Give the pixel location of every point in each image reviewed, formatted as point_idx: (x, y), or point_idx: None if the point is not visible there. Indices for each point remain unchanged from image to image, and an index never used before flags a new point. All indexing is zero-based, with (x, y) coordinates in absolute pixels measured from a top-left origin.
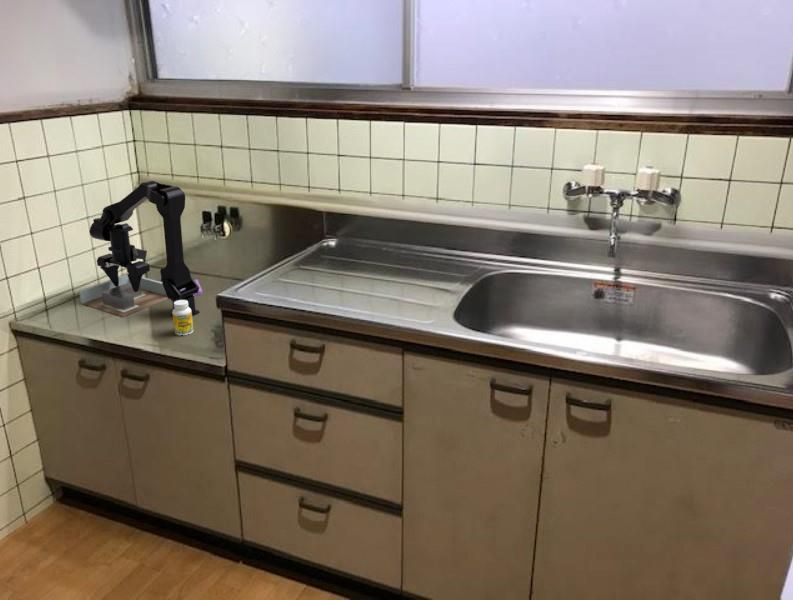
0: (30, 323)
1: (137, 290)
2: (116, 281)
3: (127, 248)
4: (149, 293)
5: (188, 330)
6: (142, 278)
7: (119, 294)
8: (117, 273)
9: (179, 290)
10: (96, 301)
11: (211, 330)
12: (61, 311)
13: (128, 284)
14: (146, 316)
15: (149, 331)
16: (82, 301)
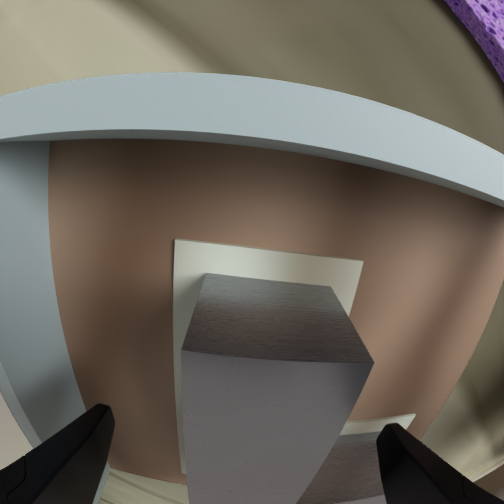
0: None
1: (399, 431)
2: (96, 455)
3: None
4: (368, 216)
5: None
6: (219, 133)
7: None
8: (44, 499)
9: (490, 58)
10: (133, 451)
11: None
12: (122, 497)
13: (240, 437)
14: (465, 427)
15: (486, 453)
16: (107, 473)
